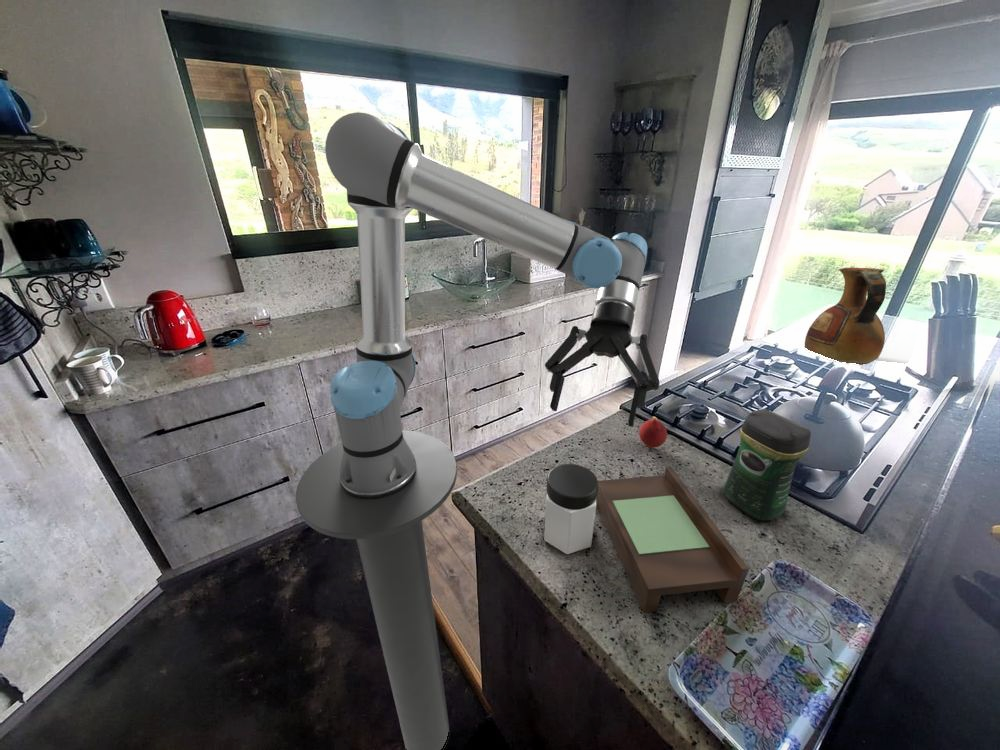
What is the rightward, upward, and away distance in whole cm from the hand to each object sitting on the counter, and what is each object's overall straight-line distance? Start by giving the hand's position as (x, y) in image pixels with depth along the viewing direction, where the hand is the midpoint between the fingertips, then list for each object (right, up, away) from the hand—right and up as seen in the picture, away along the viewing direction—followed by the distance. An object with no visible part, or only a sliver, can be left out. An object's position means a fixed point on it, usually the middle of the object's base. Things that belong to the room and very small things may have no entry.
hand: (590, 416), depth 71 cm
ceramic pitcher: (+96, +12, +63) cm, 115 cm away
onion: (+18, -9, +21) cm, 29 cm away
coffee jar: (+31, -17, +5) cm, 36 cm away
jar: (-4, -20, -1) cm, 21 cm away
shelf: (+10, -21, -3) cm, 24 cm away
